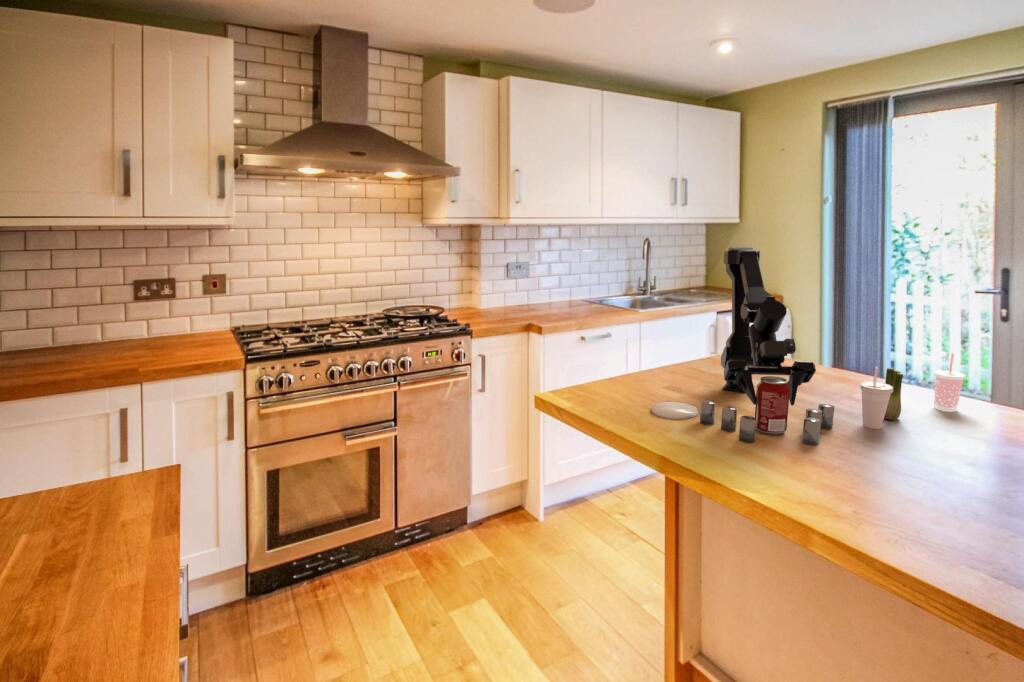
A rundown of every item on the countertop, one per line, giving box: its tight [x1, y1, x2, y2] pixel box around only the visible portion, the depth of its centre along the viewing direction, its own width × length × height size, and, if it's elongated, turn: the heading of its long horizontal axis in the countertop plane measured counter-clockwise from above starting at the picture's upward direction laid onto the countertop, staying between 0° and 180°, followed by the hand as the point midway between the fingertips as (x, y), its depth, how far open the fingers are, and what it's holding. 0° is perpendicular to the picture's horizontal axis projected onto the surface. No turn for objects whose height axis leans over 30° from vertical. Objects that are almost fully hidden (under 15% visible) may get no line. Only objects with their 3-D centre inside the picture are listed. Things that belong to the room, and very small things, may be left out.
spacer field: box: [699, 399, 835, 446], centre depth 135 cm, size 14×29×5 cm, turn 82°
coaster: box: [651, 401, 699, 420], centre depth 151 cm, size 11×11×1 cm
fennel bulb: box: [884, 367, 904, 421], centre depth 143 cm, size 6×5×12 cm
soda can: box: [754, 375, 790, 436], centre depth 136 cm, size 7×7×12 cm
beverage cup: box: [933, 353, 966, 413], centre depth 149 cm, size 6×6×14 cm
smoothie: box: [859, 366, 893, 430], centre depth 138 cm, size 6×6×14 cm
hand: (773, 404), depth 134 cm, fingers open, 8 cm apart
